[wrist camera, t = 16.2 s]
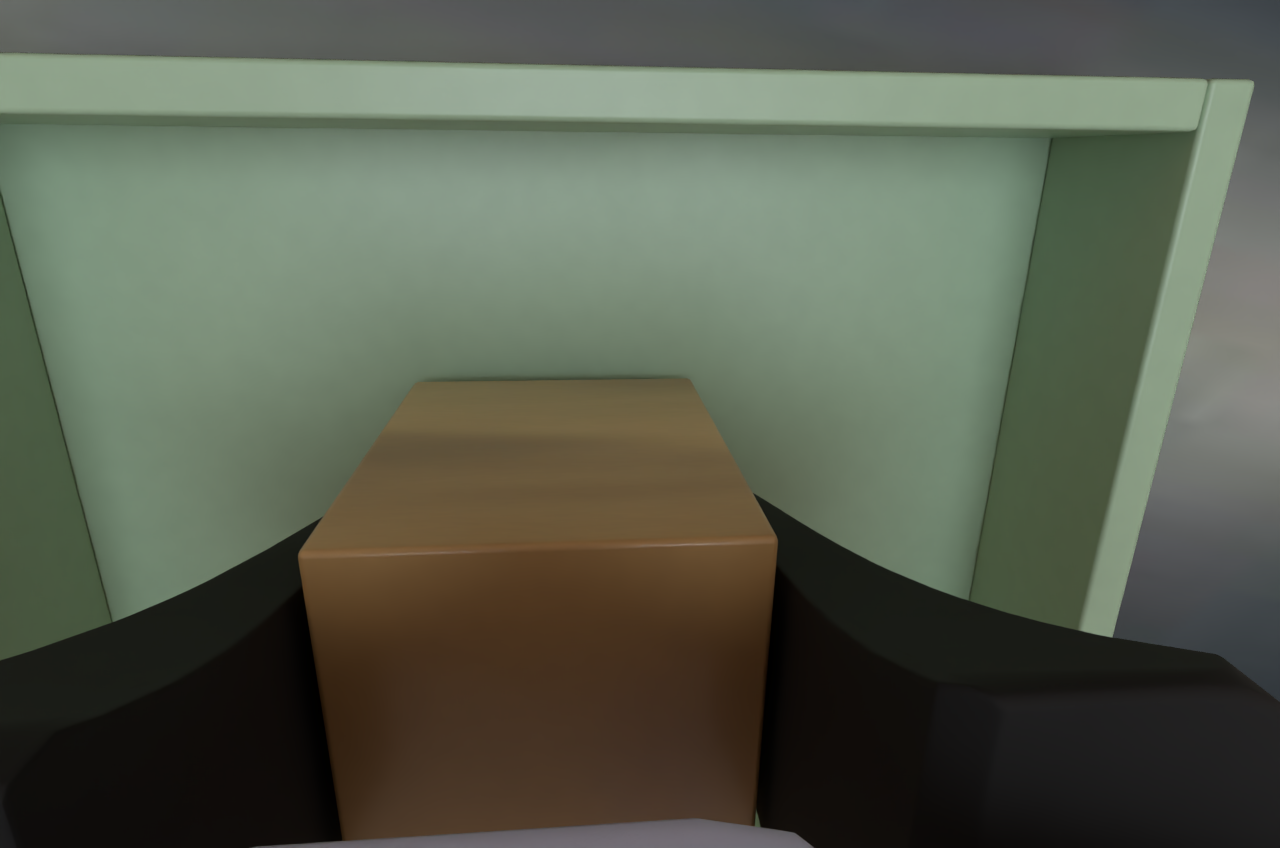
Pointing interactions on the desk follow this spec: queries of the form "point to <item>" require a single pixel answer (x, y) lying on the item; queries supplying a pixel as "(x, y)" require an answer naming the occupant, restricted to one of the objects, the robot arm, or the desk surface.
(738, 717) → the block
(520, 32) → the desk surface
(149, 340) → the tray
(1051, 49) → the desk surface
